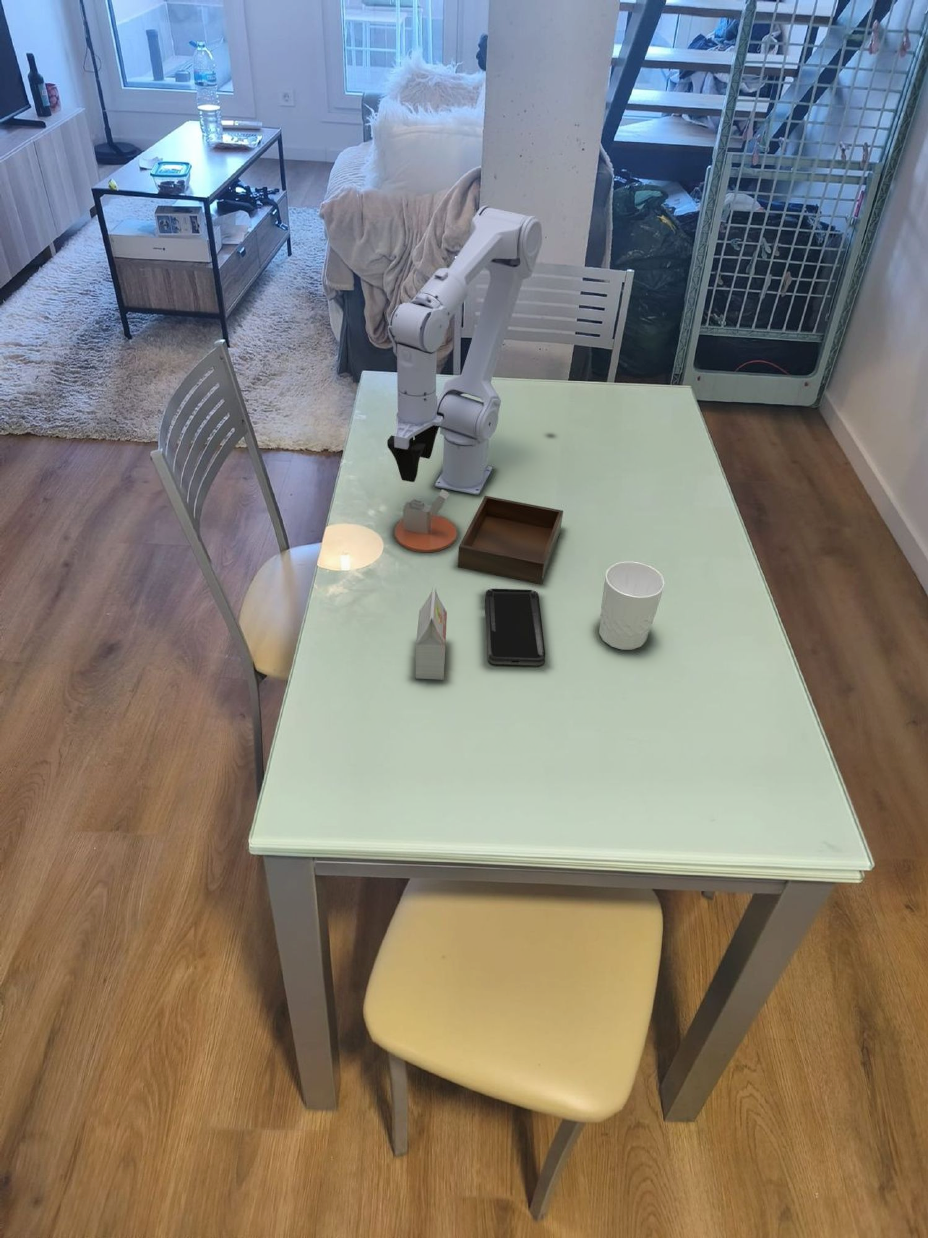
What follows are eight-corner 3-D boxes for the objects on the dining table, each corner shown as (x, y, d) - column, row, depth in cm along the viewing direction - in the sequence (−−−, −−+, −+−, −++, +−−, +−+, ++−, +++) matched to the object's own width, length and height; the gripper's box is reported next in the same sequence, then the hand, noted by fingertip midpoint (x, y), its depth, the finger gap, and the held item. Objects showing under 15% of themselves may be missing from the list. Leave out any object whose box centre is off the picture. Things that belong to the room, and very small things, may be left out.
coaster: (406, 512, 137) (406, 509, 137) (463, 523, 135) (464, 520, 135) (385, 545, 130) (385, 542, 130) (445, 557, 128) (446, 554, 128)
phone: (537, 590, 121) (546, 660, 110) (537, 595, 122) (545, 666, 110) (484, 588, 121) (487, 658, 109) (484, 594, 121) (486, 664, 110)
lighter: (403, 529, 132) (402, 487, 127) (406, 524, 134) (406, 481, 128) (445, 538, 131) (446, 495, 126) (448, 532, 132) (449, 489, 127)
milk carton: (415, 678, 108) (416, 620, 101) (418, 643, 113) (419, 586, 106) (443, 679, 108) (445, 622, 101) (445, 645, 113) (447, 588, 106)
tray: (483, 515, 138) (484, 495, 135) (560, 530, 135) (563, 510, 133) (457, 566, 127) (458, 546, 124) (541, 584, 124) (543, 563, 122)
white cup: (615, 659, 112) (628, 603, 106) (583, 625, 117) (594, 569, 111) (661, 643, 115) (676, 587, 108) (628, 610, 120) (641, 555, 114)
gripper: (427, 413, 115) (425, 495, 124) (456, 372, 126) (453, 451, 135) (380, 405, 116) (382, 487, 125) (413, 365, 127) (412, 443, 136)
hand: (416, 468), depth 130 cm, fingers open, 7 cm apart
